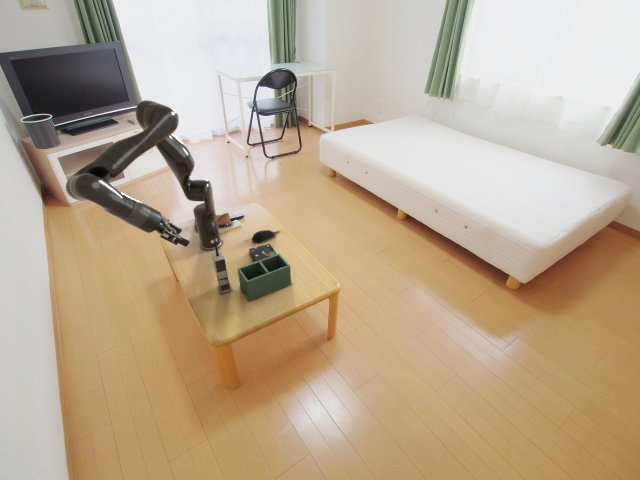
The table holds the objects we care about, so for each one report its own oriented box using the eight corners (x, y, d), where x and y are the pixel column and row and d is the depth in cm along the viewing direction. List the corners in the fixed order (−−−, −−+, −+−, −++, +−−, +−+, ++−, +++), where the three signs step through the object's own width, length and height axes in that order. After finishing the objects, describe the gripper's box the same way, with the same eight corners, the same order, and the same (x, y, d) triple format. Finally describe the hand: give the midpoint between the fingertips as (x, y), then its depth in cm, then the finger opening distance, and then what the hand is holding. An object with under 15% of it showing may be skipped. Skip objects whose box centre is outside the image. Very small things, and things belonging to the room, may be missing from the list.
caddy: (240, 286, 138) (237, 268, 132) (280, 271, 146) (279, 253, 140) (249, 301, 131) (246, 282, 126) (291, 284, 139) (290, 265, 134)
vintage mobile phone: (221, 294, 134) (210, 243, 120) (218, 286, 138) (207, 236, 123) (231, 291, 136) (221, 240, 121) (227, 283, 139) (217, 233, 125)
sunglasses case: (197, 232, 169) (194, 219, 168) (196, 232, 175) (193, 219, 175) (233, 224, 175) (230, 211, 174) (231, 224, 182) (228, 212, 181)
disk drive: (249, 253, 156) (259, 272, 145) (248, 248, 155) (258, 267, 144) (270, 247, 160) (281, 265, 149) (269, 243, 159) (281, 260, 148)
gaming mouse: (282, 234, 169) (281, 227, 167) (256, 245, 161) (255, 238, 159) (275, 229, 173) (274, 222, 171) (249, 239, 165) (248, 232, 163)
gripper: (154, 216, 98) (198, 239, 111) (143, 197, 108) (184, 220, 120) (138, 236, 98) (183, 257, 111) (128, 215, 108) (171, 236, 120)
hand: (184, 237), depth 115 cm, fingers open, 8 cm apart
